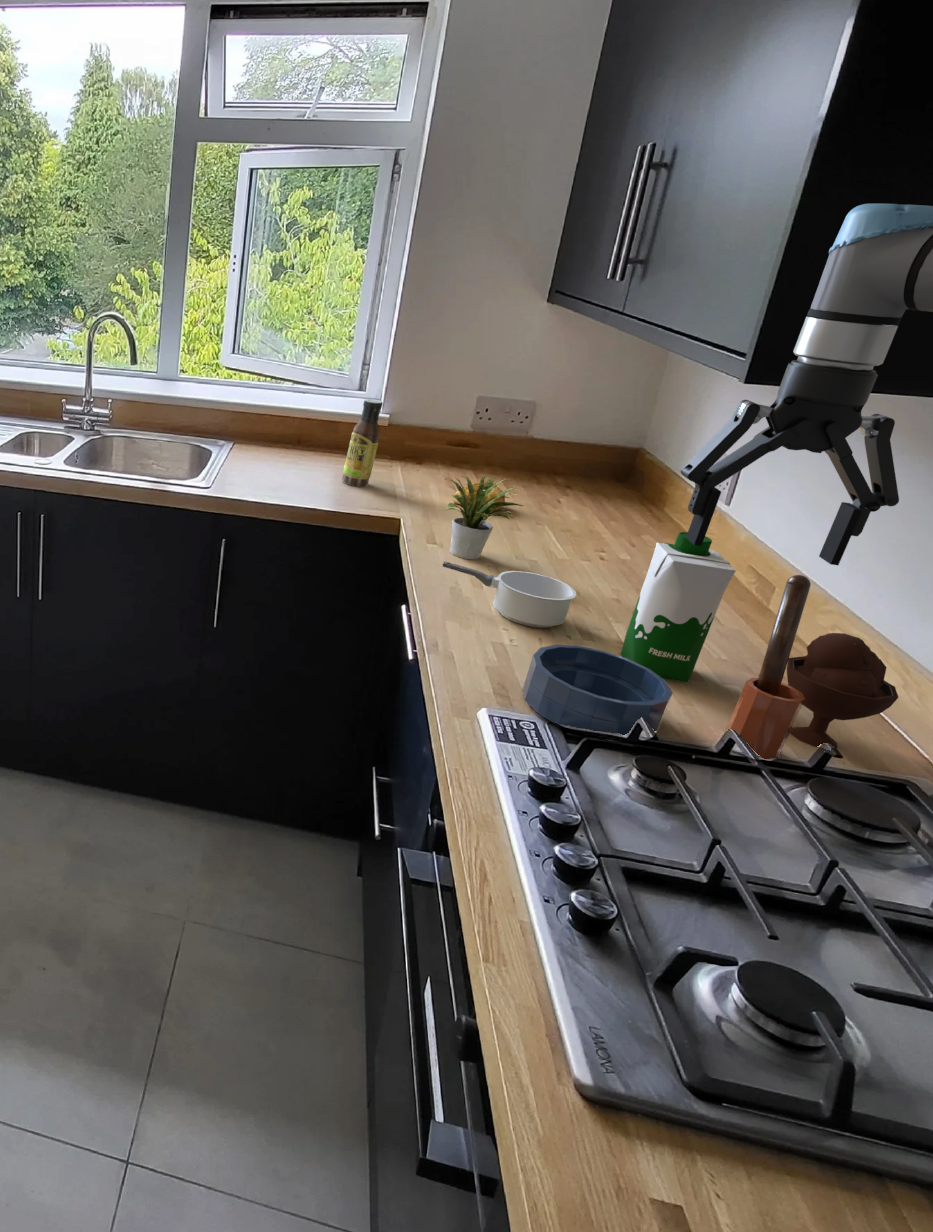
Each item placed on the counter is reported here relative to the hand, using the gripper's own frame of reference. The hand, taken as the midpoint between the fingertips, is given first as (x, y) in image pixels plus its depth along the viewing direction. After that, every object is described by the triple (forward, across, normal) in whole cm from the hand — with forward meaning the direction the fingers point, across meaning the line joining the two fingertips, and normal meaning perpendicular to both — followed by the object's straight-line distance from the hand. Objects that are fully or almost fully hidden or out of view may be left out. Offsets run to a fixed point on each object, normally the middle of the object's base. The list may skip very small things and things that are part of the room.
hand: (759, 551), depth 102 cm
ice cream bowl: (+26, -16, -6) cm, 31 cm away
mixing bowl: (+25, +11, -3) cm, 28 cm away
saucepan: (+26, +16, -35) cm, 46 cm away
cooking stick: (+25, -7, 0) cm, 26 cm away
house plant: (+25, +20, -60) cm, 68 cm away
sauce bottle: (+25, +38, -101) cm, 111 cm away
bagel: (+25, +12, -97) cm, 101 cm away
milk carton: (+26, -2, -21) cm, 33 cm away
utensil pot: (+26, -7, 0) cm, 26 cm away
